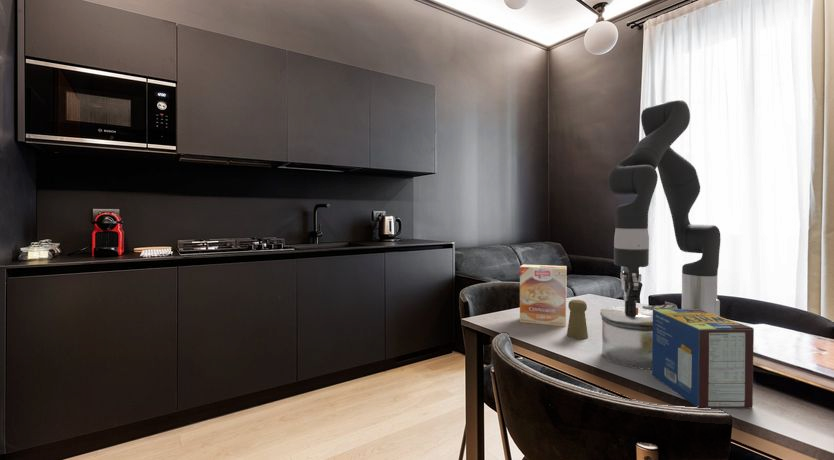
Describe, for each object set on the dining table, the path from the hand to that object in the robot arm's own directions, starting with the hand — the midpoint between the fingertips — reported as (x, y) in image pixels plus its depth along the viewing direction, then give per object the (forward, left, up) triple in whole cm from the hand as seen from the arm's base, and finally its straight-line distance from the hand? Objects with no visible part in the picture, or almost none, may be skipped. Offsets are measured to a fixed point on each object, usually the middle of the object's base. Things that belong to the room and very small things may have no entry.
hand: (630, 315), depth 95 cm
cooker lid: (-1, -3, -1) cm, 3 cm away
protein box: (-10, +13, -12) cm, 20 cm away
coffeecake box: (+21, -31, -12) cm, 39 cm away
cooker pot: (-1, -3, -12) cm, 12 cm away
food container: (-13, -22, -12) cm, 28 cm away
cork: (+11, -18, -12) cm, 24 cm away
